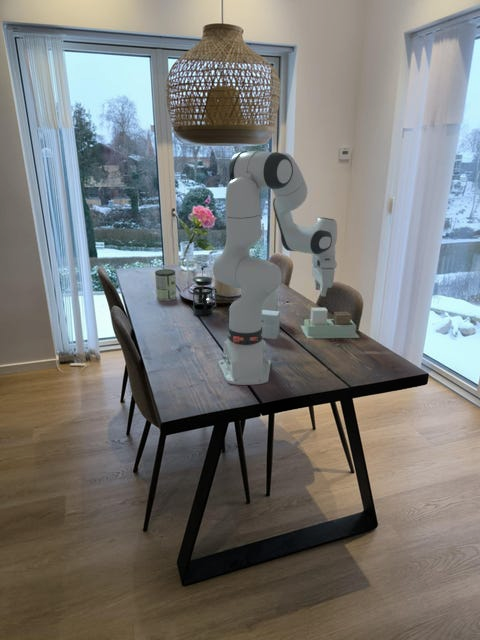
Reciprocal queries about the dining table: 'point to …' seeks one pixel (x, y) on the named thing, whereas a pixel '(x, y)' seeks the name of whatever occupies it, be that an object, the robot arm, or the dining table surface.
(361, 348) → the dining table surface
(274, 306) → the milk bottle
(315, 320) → the plug block
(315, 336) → the dock
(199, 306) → the french press
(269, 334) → the small box
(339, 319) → the walnut block
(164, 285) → the coffee can
